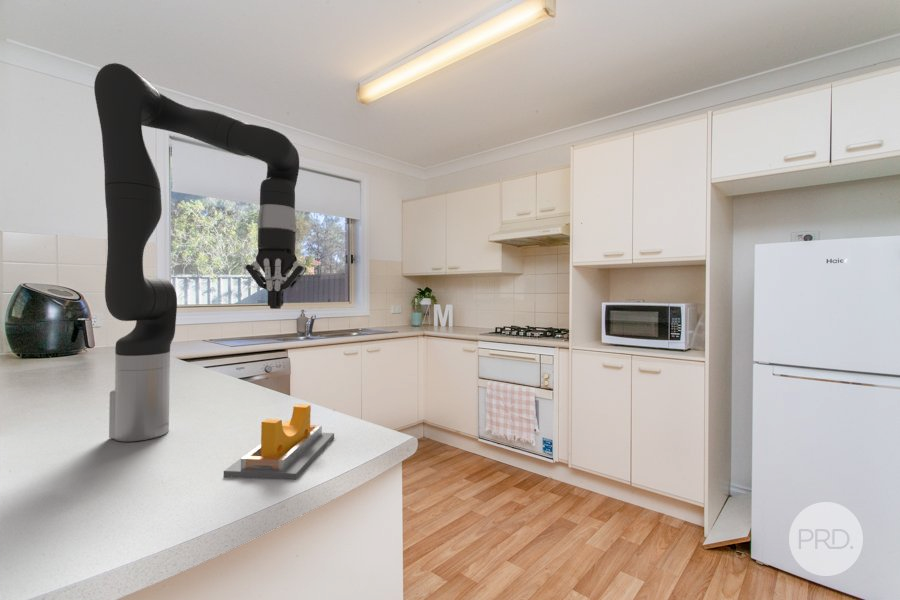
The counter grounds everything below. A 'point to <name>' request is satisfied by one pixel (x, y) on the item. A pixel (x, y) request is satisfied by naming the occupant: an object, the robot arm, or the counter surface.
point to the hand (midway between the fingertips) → (275, 308)
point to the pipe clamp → (285, 432)
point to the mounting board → (292, 470)
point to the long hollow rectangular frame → (281, 463)
